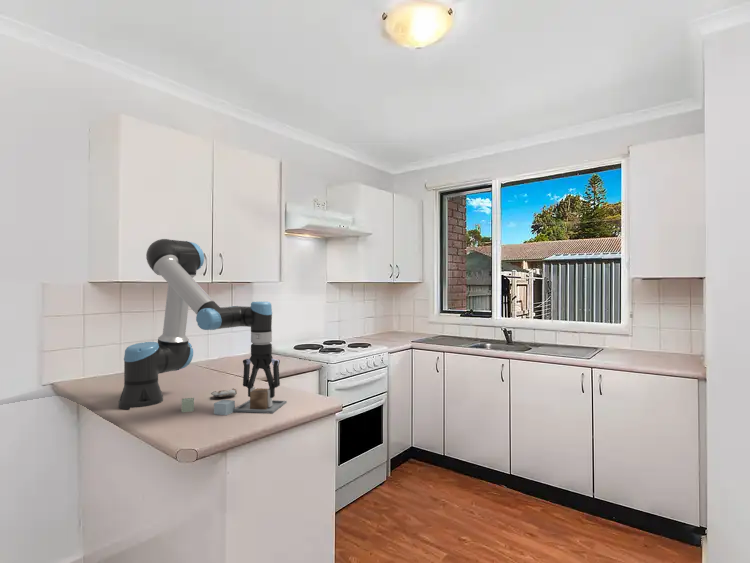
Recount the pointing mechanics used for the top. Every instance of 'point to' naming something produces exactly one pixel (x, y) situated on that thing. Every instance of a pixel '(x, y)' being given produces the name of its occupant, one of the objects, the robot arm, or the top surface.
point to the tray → (246, 409)
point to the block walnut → (259, 399)
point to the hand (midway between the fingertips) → (261, 405)
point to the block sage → (187, 404)
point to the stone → (224, 393)
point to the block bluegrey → (224, 407)
